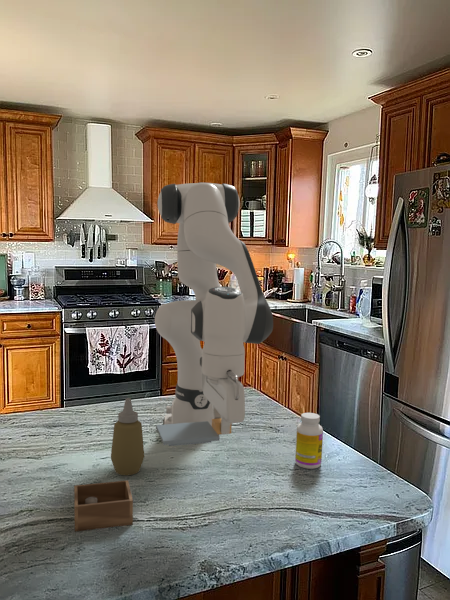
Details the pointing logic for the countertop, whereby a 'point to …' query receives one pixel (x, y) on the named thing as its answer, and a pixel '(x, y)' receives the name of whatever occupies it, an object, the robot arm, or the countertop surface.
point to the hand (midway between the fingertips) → (221, 429)
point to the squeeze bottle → (127, 442)
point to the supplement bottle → (309, 441)
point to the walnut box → (102, 505)
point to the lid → (190, 432)
